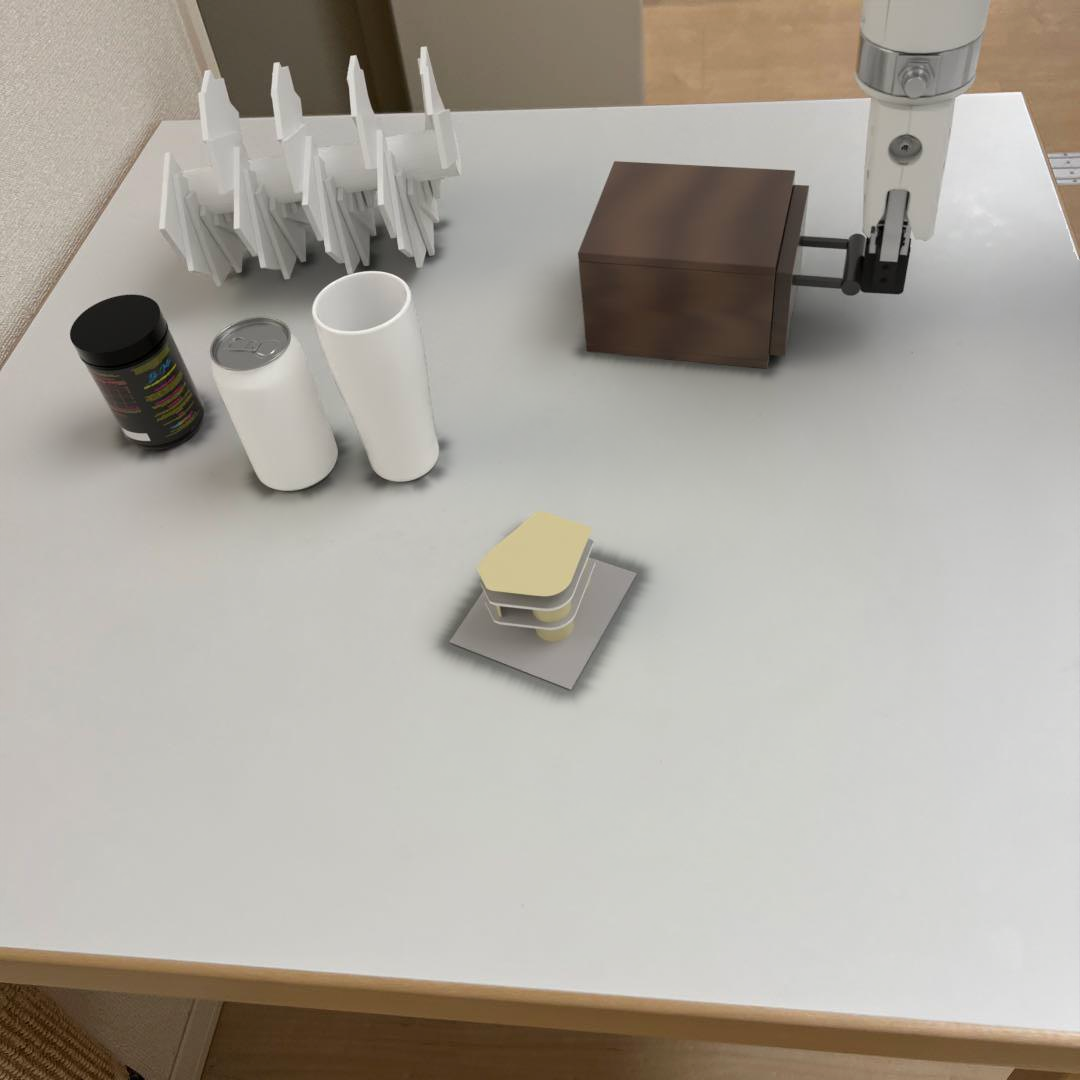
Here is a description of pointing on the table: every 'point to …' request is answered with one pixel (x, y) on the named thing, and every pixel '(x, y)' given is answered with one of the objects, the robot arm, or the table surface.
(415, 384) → the drinking glass
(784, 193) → the cabinet
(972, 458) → the table surface
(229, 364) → the can
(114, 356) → the supplement container
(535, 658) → the stacked layers on plate
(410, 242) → the spiral staircase
